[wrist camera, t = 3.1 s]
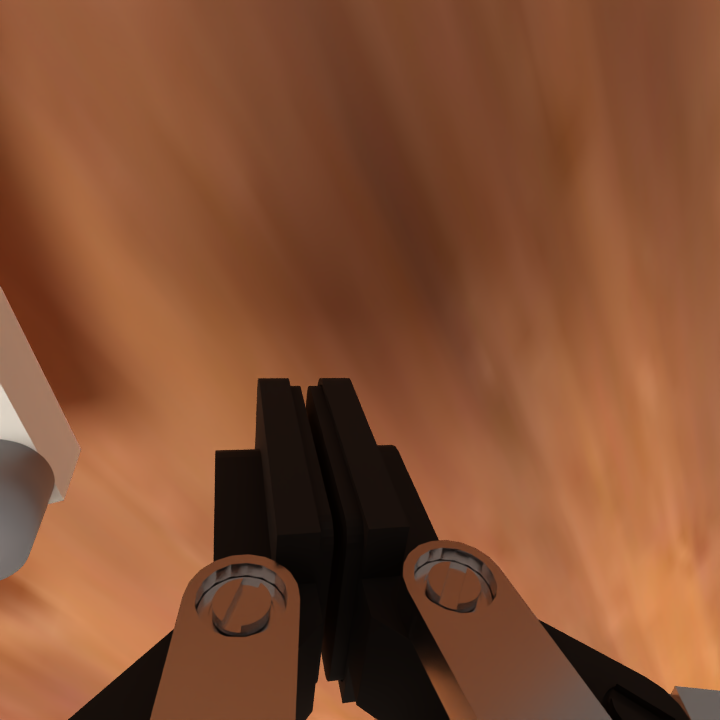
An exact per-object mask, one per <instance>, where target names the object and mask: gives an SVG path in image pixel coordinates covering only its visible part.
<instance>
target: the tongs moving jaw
mask: <svg viewBox="0 0 720 720" xmlns="http://www.w3.org/2000/svg"><path fill="white" fill-rule="evenodd" d="M80 451H81V448H80V446H79V444H78V442H77V440H76V438H75V435H74V433H73V431H72V429H71V427H70V425H69V423H68V421H67V419H66V417H65V415H64V413H63V411H62V409H61V407H60V405H59V403H58V401H57V399H56V397H55V395H54V393H53V391H52V389H51V387H50V385H49V383H48V381H47V379H46V377H45V375H44V373H43V371H42V369H41V367H40V365H39V363H38V361H37V359H36V357H35V355H34V353H33V351H32V349H31V347H30V345H29V342H28V340H27V338H26V336H25V334H24V332H23V330H22V328H21V326H20V324H19V322H18V320H17V318H16V316H15V314H14V312H13V310H12V308H11V306H10V304H9V302H8V300H7V298H6V296H5V294H4V292H3V290H2V288H1V286H0V580H2V579H4V578H7V577H8V576H10V575H12V574H14V573H15V572H16V571H18V570H19V569H20V568H21V567H22V566H23V565H24V563H25V562H26V560H27V558H28V556H29V554H30V551H31V548H32V546H33V543H34V540H35V538H36V535H37V532H38V529H39V527H40V524H41V521H42V519H43V516H44V513H45V511H46V508H47V505H48V504H51V503H55V502H59V501H63V500H64V499H65V496H66V493H67V490H68V487H69V484H70V481H71V478H72V475H73V472H74V469H75V466H76V463H77V460H78V457H79V454H80Z"/></svg>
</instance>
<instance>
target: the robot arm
mask: <svg viewBox="0 0 720 720" xmlns="http://www.w3.org/2000/svg"><path fill="white" fill-rule="evenodd" d="M321 653H322V659H323V665H324V671H325V676H326V679H327V681H335V680H338V682H339V687H340V692H341V698H342V703H348V702H355V701H356V705H357V706H359V707H360V708H362V709H363V710H364V711H366V712H367V713H369V714H370V715H371V716H373V717H374V718H375V719H374V720H720V691H717V690H707V689H697V688H688V687H678V686H675V687H674V689H673V691H672V693H671V694H668V693H667V692H666V691H665V690H664V689H663V688H661V687H660V686H658V685H657V684H655V683H654V682H652V681H651V680H649V679H648V678H646V677H645V676H643V675H641V674H639V673H637V672H635V671H633V670H632V669H630V668H628V667H626V666H624V665H622V664H620V663H619V662H617V661H615V660H613V659H611V658H609V657H607V656H606V655H604V654H602V653H600V652H598V651H596V650H594V649H592V648H591V647H589V646H587V645H585V644H583V643H581V642H579V641H578V640H576V639H574V638H572V637H570V636H568V635H566V634H565V633H563V632H561V631H559V630H557V629H555V628H553V627H552V626H550V625H548V624H546V623H544V622H542V621H540V620H538V619H537V617H536V616H535V615H534V613H533V612H532V611H531V609H530V608H529V607H528V605H527V604H526V603H525V601H524V600H523V599H522V597H521V596H520V595H519V593H518V592H517V591H516V589H515V588H514V586H513V585H512V584H511V582H510V581H509V580H508V578H507V577H506V576H505V574H504V573H503V572H502V570H501V569H500V568H499V567H498V566H497V565H496V564H495V562H494V561H493V560H492V559H491V558H490V557H488V556H487V555H485V554H484V553H482V552H481V551H479V550H478V549H476V548H474V547H471V546H469V545H466V544H464V543H461V542H455V541H449V540H438V537H437V535H436V533H435V531H434V529H433V526H432V524H431V522H430V520H429V518H428V515H427V513H426V511H425V509H424V507H423V504H422V502H421V500H420V498H419V496H418V493H417V491H416V489H415V487H414V485H413V482H412V480H411V478H410V476H409V473H408V471H407V469H406V467H405V465H404V462H403V460H402V458H401V456H400V454H399V451H398V450H397V448H396V447H395V446H393V445H378V446H377V444H376V442H375V439H374V437H373V434H372V432H371V429H370V427H369V424H368V422H367V419H366V417H365V414H364V412H363V409H362V407H361V405H360V402H359V400H358V397H357V395H356V392H355V390H354V387H353V385H352V382H351V380H350V379H349V378H320V379H319V382H318V386H309V387H308V390H307V400H306V407H305V403H304V399H303V395H302V391H301V387H300V386H290V382H289V379H288V378H258V386H257V411H256V438H255V449H250V450H218V451H216V452H215V509H214V562H213V563H211V564H209V565H208V566H206V567H204V568H203V569H201V570H200V571H199V572H198V573H197V574H196V575H195V576H194V577H193V578H192V579H191V580H190V582H189V584H188V586H187V588H186V590H185V592H184V594H183V597H182V601H181V604H180V608H179V612H178V616H177V620H176V623H175V627H174V629H173V630H172V631H171V632H170V633H169V634H168V635H166V636H165V637H164V638H163V639H162V640H161V641H159V642H158V643H157V644H156V645H155V646H154V647H152V648H151V649H150V650H149V651H148V652H147V653H145V654H144V655H143V656H142V657H141V658H140V659H138V660H137V661H136V662H135V663H134V664H133V665H131V666H130V667H129V668H128V669H127V670H126V671H124V672H123V673H122V674H121V675H120V676H118V677H117V678H116V679H115V680H114V681H113V682H111V683H110V684H109V685H108V686H107V687H106V688H104V689H103V690H102V691H101V692H100V693H99V694H97V695H96V696H95V697H94V698H93V699H92V700H90V701H89V702H88V703H87V704H86V705H85V706H83V707H82V708H81V709H80V710H79V711H78V712H76V713H75V714H74V715H73V716H72V717H71V718H69V719H68V720H306V719H307V717H308V716H309V715H310V714H311V712H312V710H313V701H314V693H315V684H316V683H317V681H318V675H319V666H320V658H321Z"/></svg>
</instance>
